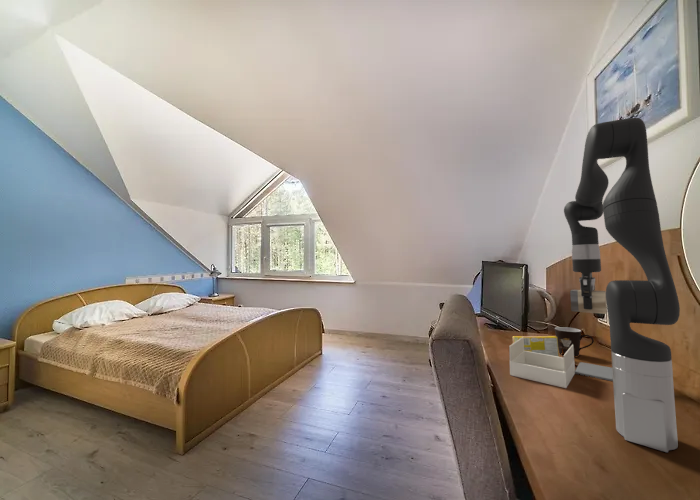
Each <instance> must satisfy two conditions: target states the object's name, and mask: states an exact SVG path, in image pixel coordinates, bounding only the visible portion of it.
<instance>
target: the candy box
mask: <svg viewBox="0 0 700 500" xmlns="http://www.w3.org/2000/svg"><path fill="white" fill-rule="evenodd" d="M522 337H524V351H529V352H534V353H540V354H546V355H552V356H557V357H560V354H559V349H558V340H557V337H556V335H555V336H554V335H553V336H552V335H547V336H546V335H545V336H544V335H542V336H538V335H536V336H535V335H533V336H530V335H529V336H528V335H524V336H523V335H522V336H521V335H519V336H517V335H516V336H515V335H514V336H512V344H513V343H514V342H516V341H518V340H519V339H521V338H522Z"/></svg>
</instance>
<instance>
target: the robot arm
mask: <svg viewBox="0 0 700 500" xmlns="http://www.w3.org/2000/svg"><path fill="white" fill-rule="evenodd" d="M584 142H585V143H584V150H583V156H582V157H583V158H582V165H581V175H580V181H579V184H578V186H577V187H578V188H577V189H576V193H575V195H574V196H575V200H572V201H569V202H567V203H566V204H565V206H564V208H563V213H564V217H565V219H566V222H567V223H568V226H569V229H570V230H569V231H570V233H571V245H572V246H571V247H572V248H571V260H572V264H571V265H572V271H573V272H575V273H580V274H581V277H579V278H578V279H579V285H580V287H579V288H580V289H579V290H581V295H582V297H583V304H584V309H588V310H591V309H592V297H593V296H592V292H593V291H596V277H594V276H593V273H601V272H602V262H601V250H600V246H599V244H600V243H599V242H600V241H599V232H598V229H597V228H596V227H591V226H585V225H582V224H581V223H580V222H581V221H582V222H583V221H584V222H585V221H595V220H598V219H599V218H601V217H602V216H603V220H604V227H605V230H606V232H608V234H609V235H610V236H611V238H613V240H614V241H616V242H617V243H618V244H619V245H620V246H621V247H623V248H624V249H625V250H626V251H627V252H628V253H630V254H631V256H632V257H633V258H634V259H636V261H637V263H639V265H640V266H641V268H642V270H643V272H644V274H645V276H646V278H647V279H646V280H641V279H640V280H633V279H632V280H630V279H629V280H628V279H627V280H626V279H624V280H622V279H620V280H617V279H616V280H611V281H609V282H608V283H607V285H606V287H605V291H606V304H607V316H608V324H609V325H608V326H609V333H610V334H609V337H610V351H611V368H612V372H613V381H612V386H613V397H614V398H613V401H614V413H615V415H614V416H615V430H616V431H617V432H618V433H619V434H620V435H621V436H622V437H623V438H624V440H625V441H628V442H631V443H634V444H638V445H641V446H645V447H648V448H651V449H654V450H658V451H660V452H665V453H669V451H672V450H676V449H678V446H679V444H678V442H679V441H678V429H677V428H678V427H677V418H676V402H675V390H674V389H675V387H674V371H673V362H672V359H673V358H672V351H671V348H670V346H669V344H667V343H664V342H663V341H661V340H657V339H653V338H651V337H648V336H646V335H645V336H644V335H643V334H640V333H639V332H636V331H635V330H633V329H632V327H631V323H633V324H645V325H646V324H647V325H658V326H659V325H660V326H662V325H663V326H672V325H675V324H676V323H677V322H678V321H679V318H680V311H681V309H680V301H679V296H678V292H677V288H676V286H675V282H674V278H673V275H672V272H671V269H670V265H669V262H668V259H667V255H666V250H665V245H664V241H663V234H662V229H661V227H662V226H661V221H660V220H661V219H660V213H659V209H658V203H657V199H656V195H655V194H656V193H655V191H654V187H653V181H652V177H651V176H652V175H651V170H650V163H649V147H648V146H649V145H648V136H647V128H646V123H645V122H644V121H643V119H642V118H639V117H628V118H622V119H617V120H616V119H615V120H611V121H604V122H600V123H596V124H594V125H592V126H591V127H590V129H589V130H588V132H587V135H586V138H585V141H584ZM621 157H622V158H623V157H624V158H625V162H626V163H625V168H624V170H623V171H622V173H621V174H620V177H619V178H618V179H617V181H616V182H615V184H613V186H612V188H611V189H610V190H609V191H608V193H607V194H606V192H607V190H608V187H609V184H610V183H609V178H608V175H607V173H606V172H605V171H604V170H603V169H602V168H601V167H600V164H599V163H598V160H604V159H605V160H606V159H613V158H621ZM605 194H606V196H605ZM604 196H605V198H604ZM603 199H604V200H603ZM584 291H589V293H584Z"/></svg>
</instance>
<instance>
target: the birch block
mask: <svg viewBox="0 0 700 500" xmlns="http://www.w3.org/2000/svg"><path fill="white" fill-rule="evenodd" d="M584 293H589V291H584ZM592 296H593V297H592V309H591V310H588V309H584V304H583V297H582V295H581V290H580V289H571V290H570V308H571V309H570V310H571V312H579V313H580V312H581V313H589V314H590V313H591V314H600V315H601V314H603V315H605V314H606V315H607V314H608V310H607V303H606V290H594V291H593V292H592Z"/></svg>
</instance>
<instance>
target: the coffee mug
mask: <svg viewBox="0 0 700 500" xmlns="http://www.w3.org/2000/svg"><path fill="white" fill-rule="evenodd" d="M554 331H555V332H554V333H555V336H556V337H557V340H558V352H559V353H560V354H559V355H561V353H562V349H563V352H564V354H565V353H566V351H567V350H568V349H569V348H570V347H571V345H573V347H574V356H578V355H579V356H580V351H581V350H583V349H586V348H589V347H591V346H592V345H593V344H594V343H595V341H594V338H593V337H592V336H591V335H589V334H582V330H581V329H578V328H575V327H566V326H565V327H562V326H558V327H557V326H556V327H554ZM584 337H588V338H590V339H591V342H590V343H589V344H588V345H585V346H582V347H581V340H583V338H584Z"/></svg>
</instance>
